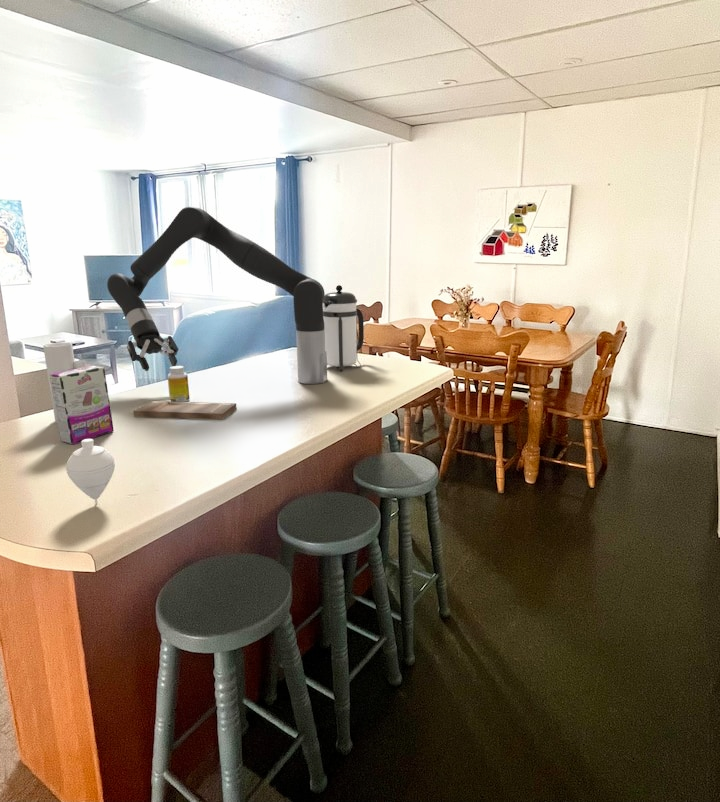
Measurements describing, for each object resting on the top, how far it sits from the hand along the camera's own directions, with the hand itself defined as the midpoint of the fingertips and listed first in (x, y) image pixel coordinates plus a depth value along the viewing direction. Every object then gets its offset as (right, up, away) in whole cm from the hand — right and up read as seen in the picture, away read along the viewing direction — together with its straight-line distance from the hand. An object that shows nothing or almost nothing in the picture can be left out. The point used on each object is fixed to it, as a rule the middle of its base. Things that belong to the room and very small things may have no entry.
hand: (161, 367), depth 173 cm
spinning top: (+14, -29, -72) cm, 79 cm away
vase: (-14, -16, -23) cm, 32 cm away
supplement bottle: (+8, -11, -6) cm, 14 cm away
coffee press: (+54, +2, +39) cm, 66 cm away
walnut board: (+13, -13, -18) cm, 26 cm away
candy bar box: (-5, -19, -36) cm, 41 cm away
